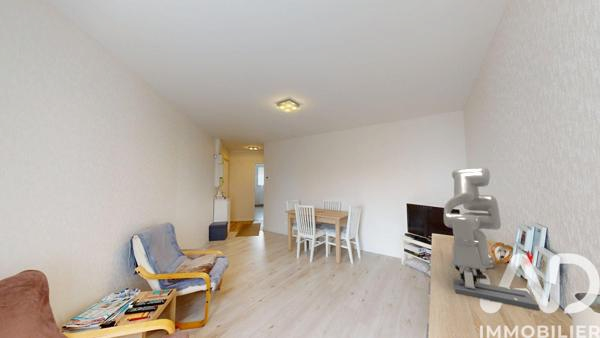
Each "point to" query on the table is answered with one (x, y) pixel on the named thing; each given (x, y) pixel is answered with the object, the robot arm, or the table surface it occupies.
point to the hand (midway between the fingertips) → (468, 281)
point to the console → (497, 294)
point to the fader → (468, 278)
